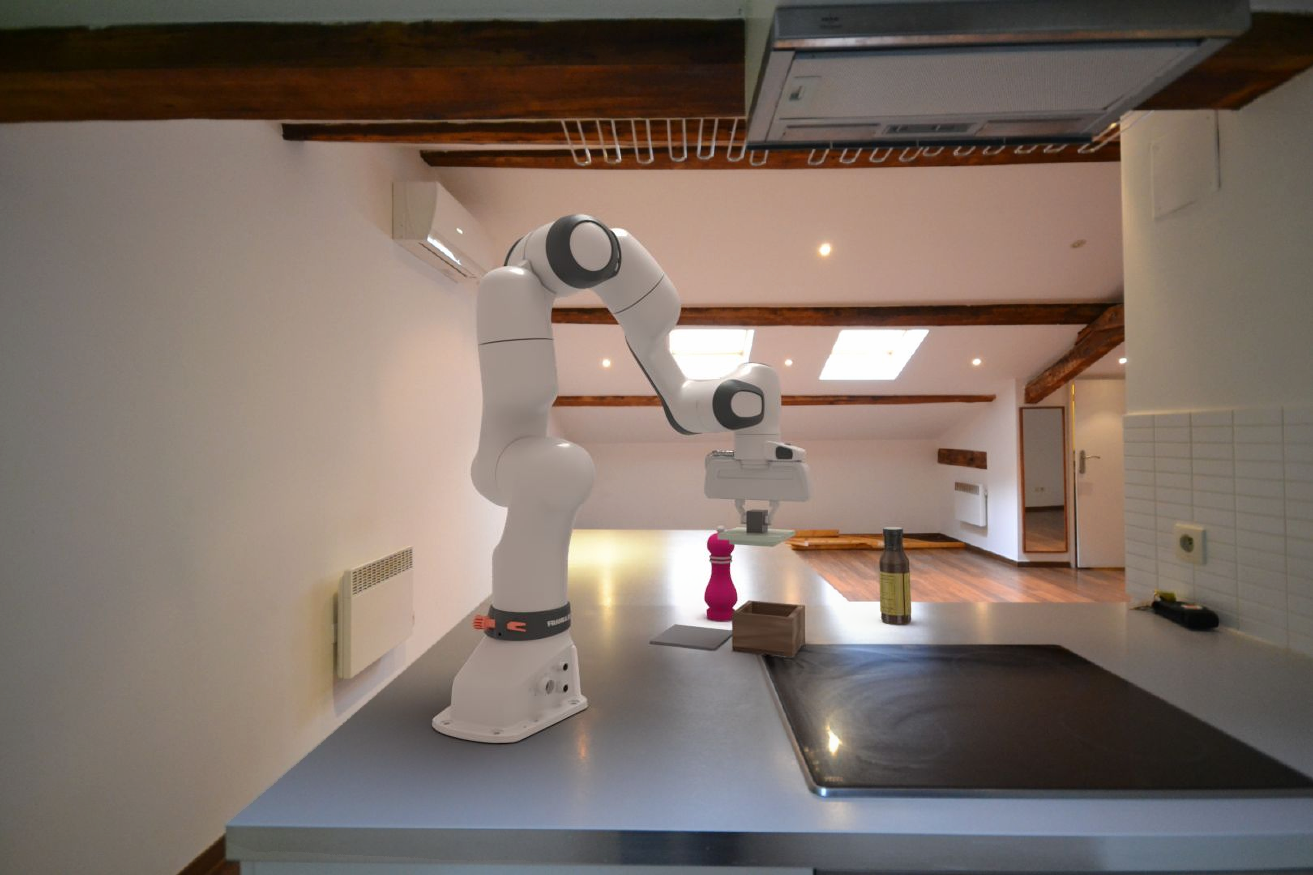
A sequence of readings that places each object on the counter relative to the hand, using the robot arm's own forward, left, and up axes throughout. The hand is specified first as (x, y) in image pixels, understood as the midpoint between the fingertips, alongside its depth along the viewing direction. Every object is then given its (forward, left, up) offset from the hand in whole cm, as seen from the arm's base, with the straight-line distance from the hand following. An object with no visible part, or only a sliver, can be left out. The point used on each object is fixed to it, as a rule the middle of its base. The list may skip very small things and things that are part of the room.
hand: (757, 524), depth 131 cm
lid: (0, 0, -3) cm, 3 cm away
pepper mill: (+17, +13, -23) cm, 31 cm away
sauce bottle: (+28, -22, -23) cm, 43 cm away
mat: (0, +13, -23) cm, 26 cm away
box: (0, -2, -23) cm, 23 cm away
